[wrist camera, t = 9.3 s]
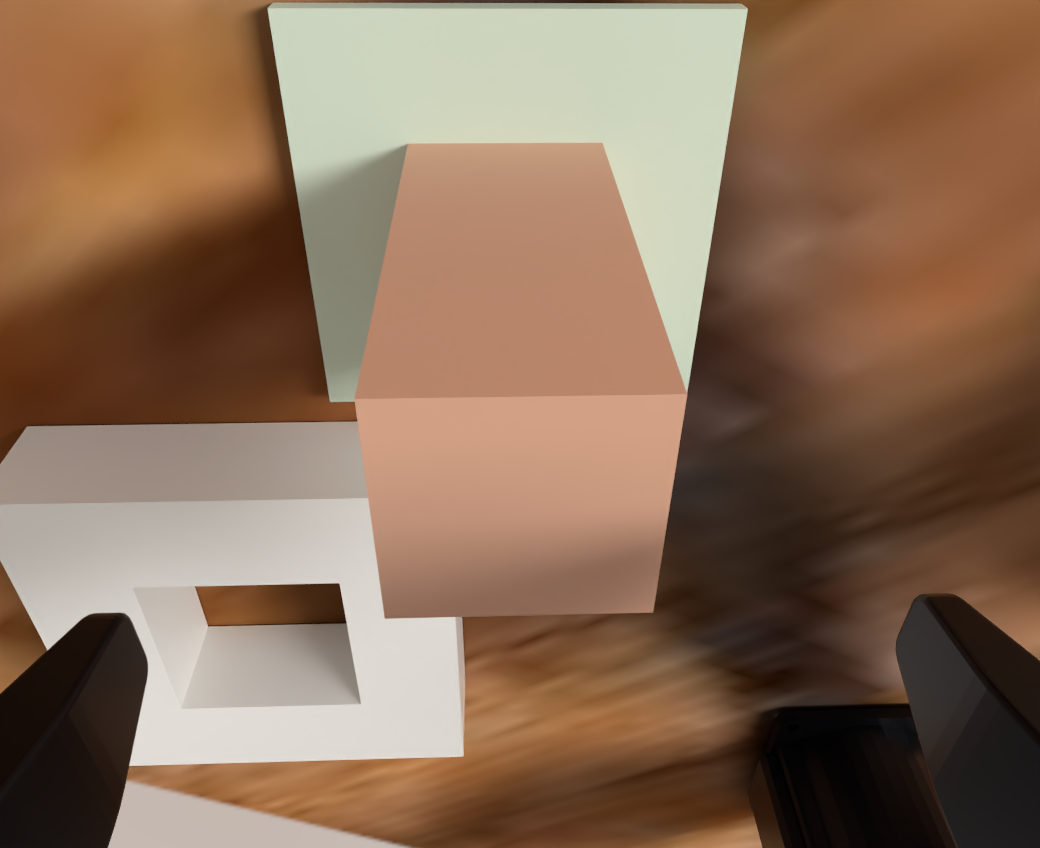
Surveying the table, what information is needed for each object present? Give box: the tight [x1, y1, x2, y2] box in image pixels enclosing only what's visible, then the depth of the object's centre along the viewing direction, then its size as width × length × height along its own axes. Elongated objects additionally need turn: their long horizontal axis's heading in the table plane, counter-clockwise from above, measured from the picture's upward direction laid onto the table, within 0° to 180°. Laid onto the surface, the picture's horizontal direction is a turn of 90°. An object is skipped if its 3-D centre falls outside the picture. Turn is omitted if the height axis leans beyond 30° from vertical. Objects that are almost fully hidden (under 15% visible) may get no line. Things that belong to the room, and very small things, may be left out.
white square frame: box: [0, 421, 465, 766], centre depth 24 cm, size 11×11×3 cm
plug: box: [355, 143, 687, 619], centre depth 15 cm, size 4×4×9 cm
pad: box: [268, 3, 748, 402], centre depth 19 cm, size 9×9×1 cm
